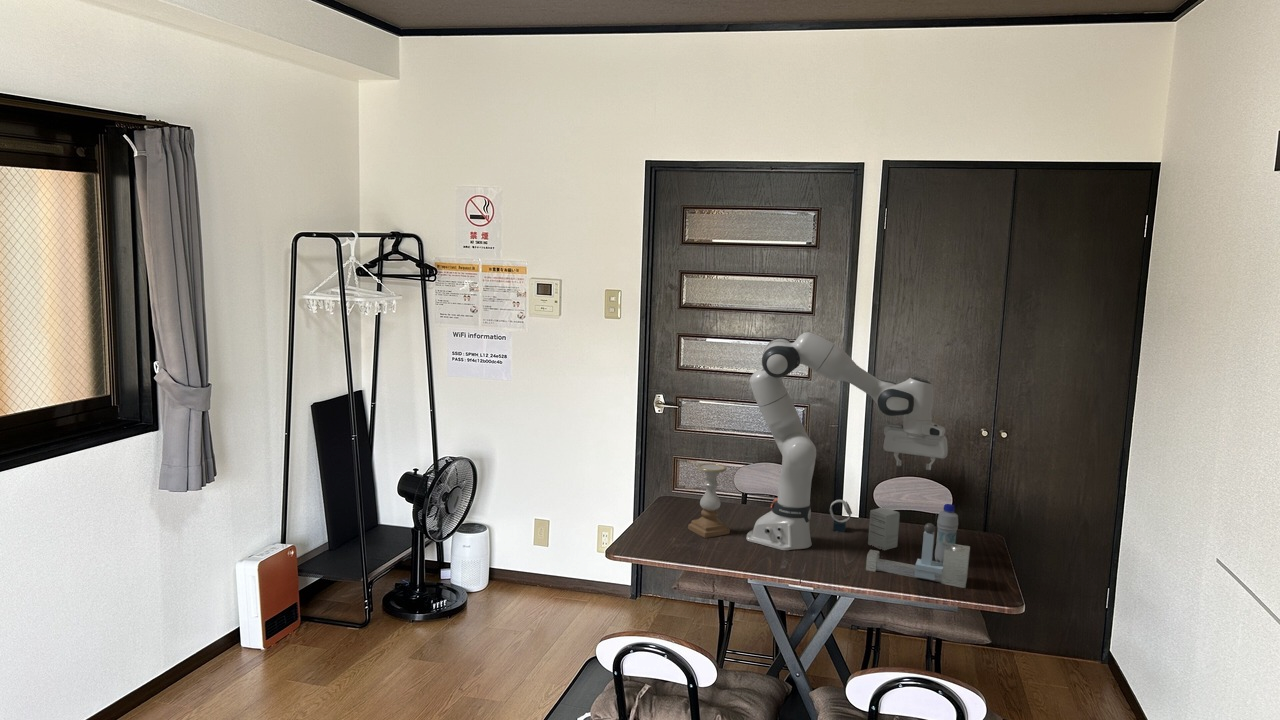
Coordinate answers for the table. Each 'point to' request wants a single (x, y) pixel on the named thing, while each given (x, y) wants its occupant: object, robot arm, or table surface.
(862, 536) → the table surface
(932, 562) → the ball-topped pillar
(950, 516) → the bottle
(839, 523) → the watch
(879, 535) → the supplement box
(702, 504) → the candle holder
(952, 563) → the grey slide rail
